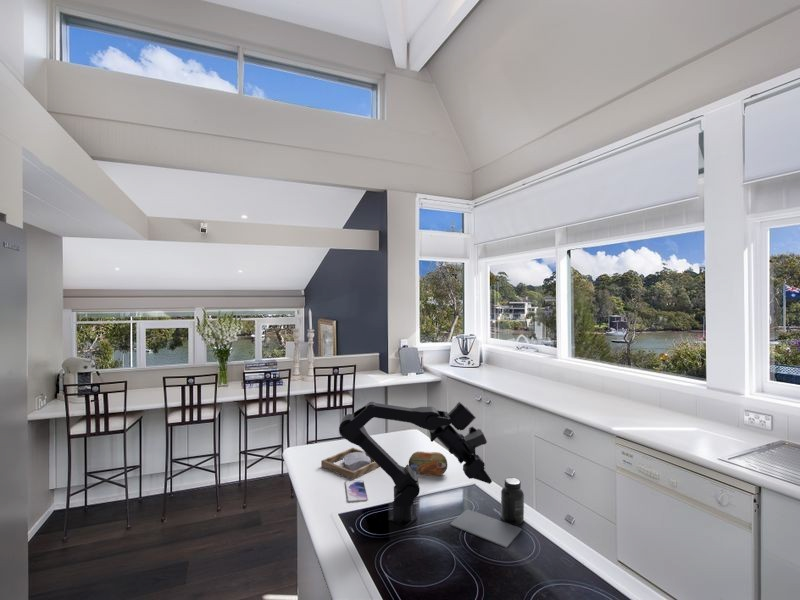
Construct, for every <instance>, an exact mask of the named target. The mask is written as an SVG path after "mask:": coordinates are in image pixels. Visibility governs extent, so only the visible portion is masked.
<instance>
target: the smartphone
mask: <svg viewBox="0 0 800 600" xmlns="http://www.w3.org/2000/svg"><path fill="white" fill-rule="evenodd" d="M344 487H345V496H346V502H347V503H349V504H350V502H352V503H359V502H360V501H363V502H368V501H369V497H368V494H367V490H366V485H365V482H364V480H362V479H360V480H347V481H344ZM367 500H368V501H367ZM360 503H361V502H360Z"/></svg>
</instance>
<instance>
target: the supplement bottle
mask: <svg viewBox="0 0 800 600" xmlns="http://www.w3.org/2000/svg"><path fill="white" fill-rule="evenodd" d="M521 484H522V482H521V480H519V479H518V478H516V477H506V478H504V486H503V488H502V489H501V491H500V492H501V493H500V498H501V499H500V518H501V521H502V522H505V523H507V524H510V525H513V526H516V525H517V526H518V525H520V524H522V523H523V522H524V516H525V509H524V508H525V493H524V491H523V490H522V486H521Z"/></svg>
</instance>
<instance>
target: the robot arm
mask: <svg viewBox="0 0 800 600" xmlns="http://www.w3.org/2000/svg"><path fill="white" fill-rule="evenodd" d="M373 418H376V419H382V420H390V421H397V422H403V423H409V424H413V425H414V426H416V427H419V428H421V429H425V430H427V431H429V439H430V442H434V441H435V440H436V439H438V440H439V441H440V443H441V444H442V445H443V446H445V448H446V449H447V450H448V452H449V453H450V454H451V455H453V456H454V457H455V458H456V459H457V461H458V463H460V464H462V463H463V462H464V463H463V465H462V471H463V473H464V474H465V476H466V477H467V478H468V479H474V480H478V481H480V482H484V483H485V484H489V485H490V484H491V483H492V482H493V480H492V479H491V477H490V476H489V474H488V473H487V471H486V470H485V469H486V468H485V465H486V464H485V462H484V460H483V459H482V457H480V456H479V454H476V448H478V447H481V446H482V445H486V444H487V442H488V441H487V439H486V437H485V434H484V432H483V430H482V429H481V428H476V427H474V426H470V427H469V428H468V433H467V434H466V435H463V434H462V433H459V432H458V431H465V429H467V427H468V426H469V425H470V424H471V423H472V422H474V420H475V419H476V418H477V417H476V416H475V414H474V413H472V411H471V410H470V409H469V408H468V407H467V406H465V405H464V404H463V403H461V401H458V402H457V403H456V405H455V406H454V407H453V408H452V409H451V410H450V411H449V412H447V411H445V410H444V411H443V410H437V408H436V407H434V406H418V407H405V406H399V405H391V404H385V403H379V402H375V401H369V402H368V403H367V404H365V405H364V406H362V407H360V408H358V409H357V410H355V411H354V412H353V413H348V414H346V415H344V416H343V417H342V418H341V421H340V424H339V427H338V433H339V435H340V436H341V437H342V438H343V439H345V441H348V443H351V444H354V445H356V446H358V447H359V448H361V449H362V451H364V452H366V453H367V454H368V455H369V456H370V457H371V458H372V459H373V460H374V461H375V462H376V463H377V464H378V465H379V468H381V469H382V471H384V472H385V473H386V474H387V475H388V476H389V477H390V478H391V480H392V481H393V483H394V486H393V501H392V515H391V516H389V518H388V520H389V522H392V523H395V524H397V525H398V526H400V527H403V528H405V527H408V526H409V525H410V524H411V523H413V522H414V521H416V520H417V519H418V516H417V515H415V514H414V500H415V499H416V498H417V497H418V496H419V494H420V491H421V490H420V488H421V487H420V483H419V478H418V475H417V474H416V472H415V471H413V470H412V469H411V468H410V466H409V463H407V465H405V467H404V466H401V465H400V464H399V463H398V462H397V461H396V460H395V459H394V458H393V457H392V456H391V455H389V453H388V452H387V451H386V450H385V449H384V448H383V447H381V445H379V443H378V442H377V441H375V439H374V438H372V436H370V435H369V433H368V431H367V430H366V428H365V426H366V424H368V422H369V421H371V420H372V419H373Z"/></svg>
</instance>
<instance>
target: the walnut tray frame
mask: <svg viewBox="0 0 800 600" xmlns="http://www.w3.org/2000/svg"><path fill="white" fill-rule="evenodd" d="M355 452H365V451H364V450H361V449H358V448H355V447H351V448H349V449H346V450H343V451H342V452H339V453H337V454H334V455H331V456H330V457H327V458H324V459H322V460H321V464H320V465H321V468H323V469H326V470H328V471H331V472H334V473H336V474H339V475H341V476H344V477H346V478H349V479H351V480H352V481H355V480H357V478H359V477H360V478H361V476H363V475H365V474H367V473H369V472H372V471H373V470H375V469H378V468H380V466H379V465H378V464H377V463H376V462H375V461H374V460H373V459H372V458H371V457H370V456H369V455H368V454H367V453H366V452H365V454H366V456H368V457H369V458H370V460H371V463H370V464H368V465H366V466H363V467H361V468H359V469H357V470H355V471H351V470H349V469H347V468H345V467H343V466H340V465H338V464H335V463H336V462H339V461H341V460H344V459H343V458H344V456H346V455H348V454H350V453H355ZM373 461H374V462H373ZM334 462H335V463H334Z"/></svg>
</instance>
